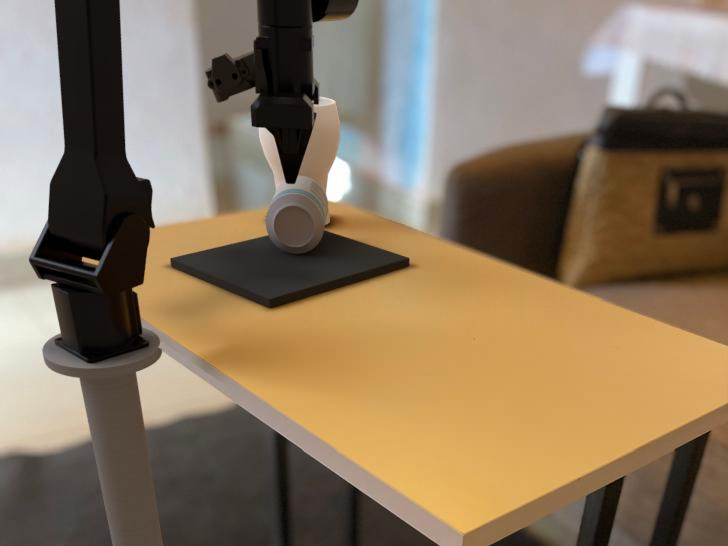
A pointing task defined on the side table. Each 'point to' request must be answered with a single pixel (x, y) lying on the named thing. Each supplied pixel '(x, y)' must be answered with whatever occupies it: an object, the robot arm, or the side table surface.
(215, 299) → the side table surface
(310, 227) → the beverage can
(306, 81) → the robot arm
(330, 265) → the mat
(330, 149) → the cup
